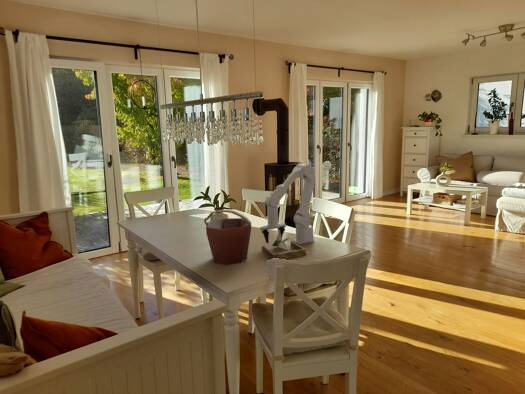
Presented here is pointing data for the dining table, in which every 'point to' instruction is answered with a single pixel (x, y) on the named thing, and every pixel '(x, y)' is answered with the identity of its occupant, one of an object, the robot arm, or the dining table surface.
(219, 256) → the bucket
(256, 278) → the dining table surface
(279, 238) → the origami crane
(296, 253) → the walnut u-shaped block
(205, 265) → the dining table surface
